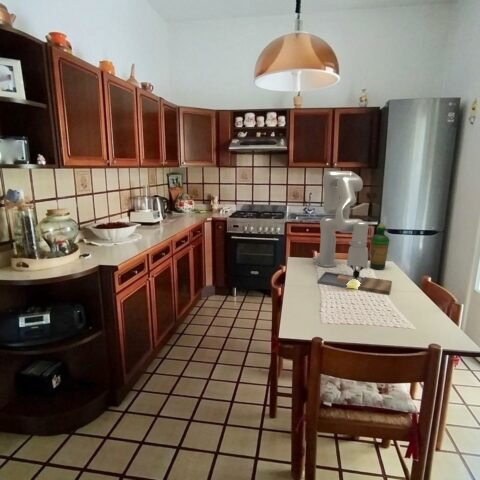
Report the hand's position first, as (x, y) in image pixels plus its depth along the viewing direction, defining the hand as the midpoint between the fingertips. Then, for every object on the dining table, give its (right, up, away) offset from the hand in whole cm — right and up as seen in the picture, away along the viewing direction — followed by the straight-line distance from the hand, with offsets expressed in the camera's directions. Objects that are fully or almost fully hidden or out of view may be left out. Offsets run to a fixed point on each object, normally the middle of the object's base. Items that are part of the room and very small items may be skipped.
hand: (356, 277), depth 184 cm
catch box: (-7, -3, +4) cm, 8 cm away
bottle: (+24, +2, +31) cm, 39 cm away
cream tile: (-1, -3, +1) cm, 3 cm away
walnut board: (+9, -5, -4) cm, 11 cm away
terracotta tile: (-6, -2, +3) cm, 7 cm away
